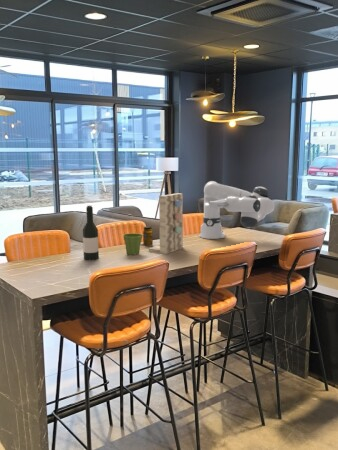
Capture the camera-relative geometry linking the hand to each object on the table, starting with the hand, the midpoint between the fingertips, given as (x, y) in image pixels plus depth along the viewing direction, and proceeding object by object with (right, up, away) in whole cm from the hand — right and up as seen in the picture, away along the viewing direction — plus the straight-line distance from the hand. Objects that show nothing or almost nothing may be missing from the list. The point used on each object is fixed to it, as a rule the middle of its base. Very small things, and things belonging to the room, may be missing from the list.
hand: (209, 202), depth 257 cm
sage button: (-20, -18, +5) cm, 28 cm away
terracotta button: (-20, -10, +4) cm, 23 cm away
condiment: (-38, -27, +24) cm, 53 cm away
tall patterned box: (-26, -28, +11) cm, 40 cm away
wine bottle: (-68, -32, -11) cm, 76 cm away
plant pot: (-45, -30, +1) cm, 54 cm away
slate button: (-20, -2, +3) cm, 21 cm away
